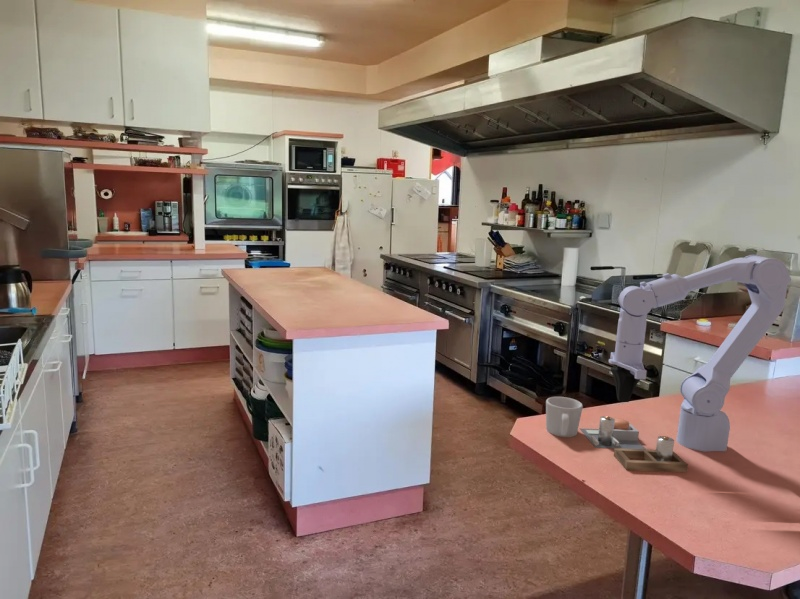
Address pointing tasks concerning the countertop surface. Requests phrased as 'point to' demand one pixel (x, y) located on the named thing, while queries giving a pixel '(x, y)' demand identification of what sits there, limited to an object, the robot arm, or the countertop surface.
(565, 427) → the cup
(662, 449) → the cell
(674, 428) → the countertop surface
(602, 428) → the cylinder
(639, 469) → the wooden divided tray
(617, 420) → the button
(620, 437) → the grey board with box
